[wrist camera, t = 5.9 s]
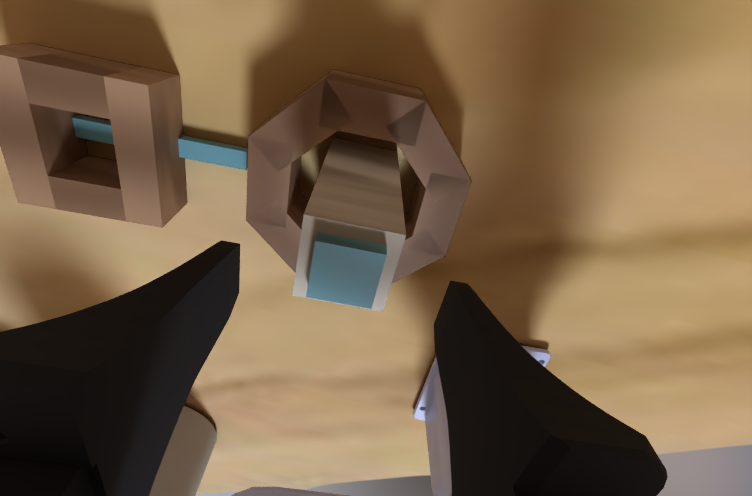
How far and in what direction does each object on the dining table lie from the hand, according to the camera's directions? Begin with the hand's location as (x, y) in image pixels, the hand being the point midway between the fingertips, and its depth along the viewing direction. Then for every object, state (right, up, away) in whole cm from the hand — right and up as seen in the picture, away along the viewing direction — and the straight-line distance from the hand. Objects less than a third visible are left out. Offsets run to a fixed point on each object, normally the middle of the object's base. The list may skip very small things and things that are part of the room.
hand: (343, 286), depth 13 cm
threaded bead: (-13, +7, +7) cm, 16 cm away
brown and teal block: (0, +5, +8) cm, 10 cm away
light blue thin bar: (-11, +7, +7) cm, 15 cm away
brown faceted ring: (0, +5, +8) cm, 10 cm away
